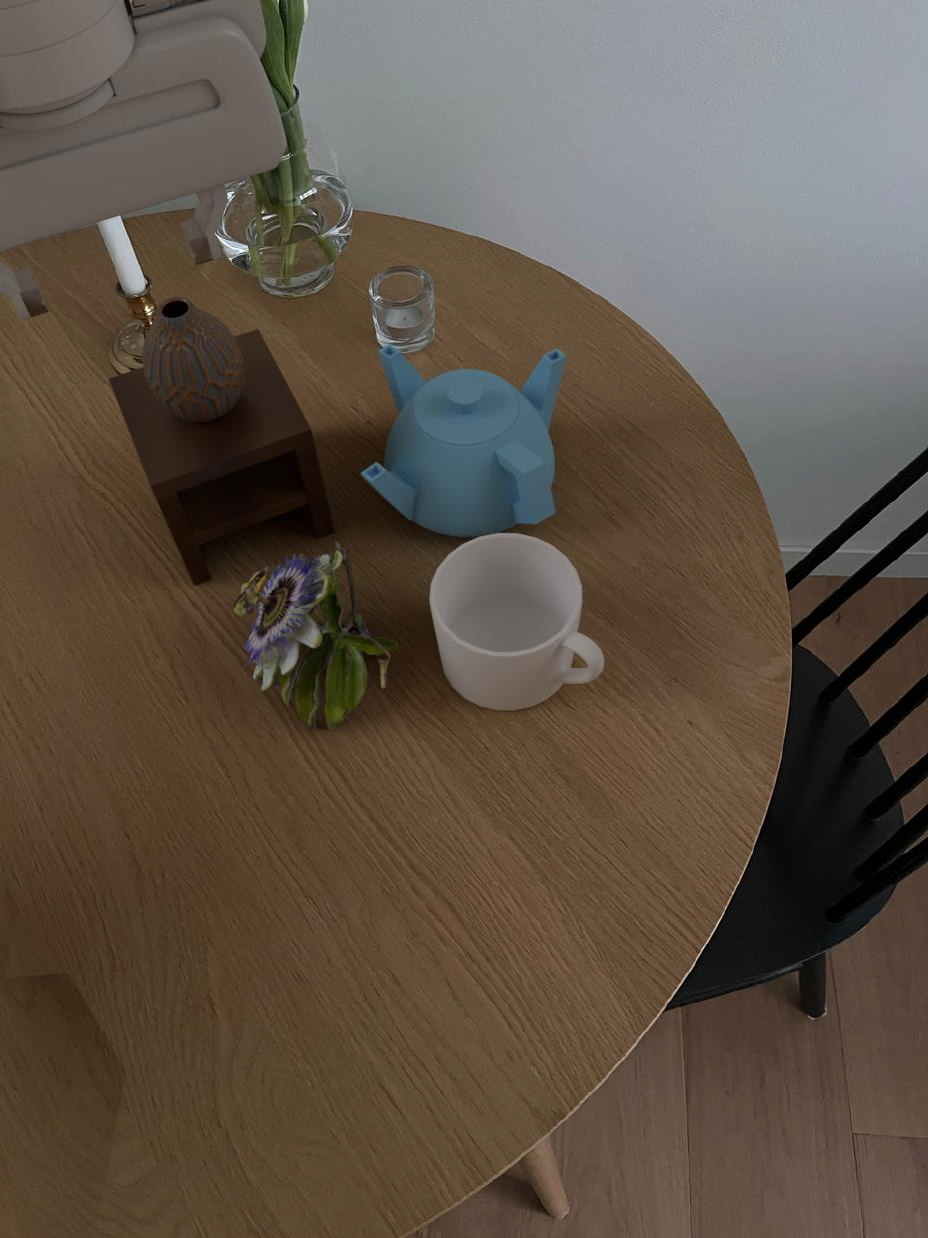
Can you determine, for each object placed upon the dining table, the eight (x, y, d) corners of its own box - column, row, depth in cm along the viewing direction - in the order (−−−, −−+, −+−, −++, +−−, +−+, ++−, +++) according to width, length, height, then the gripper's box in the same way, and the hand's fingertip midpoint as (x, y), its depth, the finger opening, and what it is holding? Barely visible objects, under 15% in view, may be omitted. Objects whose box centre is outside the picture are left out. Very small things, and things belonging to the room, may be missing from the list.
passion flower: (288, 688, 85) (242, 548, 80) (420, 662, 83) (379, 518, 79) (253, 758, 74) (198, 602, 70) (403, 730, 73) (355, 568, 68)
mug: (407, 663, 79) (397, 602, 72) (496, 574, 83) (494, 508, 77) (550, 766, 74) (554, 710, 67) (637, 665, 78) (649, 603, 71)
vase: (169, 369, 80) (134, 274, 73) (259, 369, 80) (233, 273, 73) (151, 437, 77) (112, 343, 69) (245, 436, 76) (217, 342, 69)
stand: (193, 586, 84) (150, 486, 74) (153, 483, 90) (108, 378, 80) (335, 532, 86) (311, 428, 76) (286, 435, 93) (258, 328, 83)
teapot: (363, 551, 85) (345, 460, 76) (389, 415, 93) (375, 318, 84) (554, 561, 84) (558, 469, 75) (563, 422, 92) (568, 325, 83)
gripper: (230, -73, 49) (284, 194, 60) (-232, 42, 45) (-79, 305, 56) (274, -13, 46) (323, 257, 57) (-220, 117, 41) (-60, 380, 53)
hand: (120, 282), depth 57 cm, fingers open, 8 cm apart
